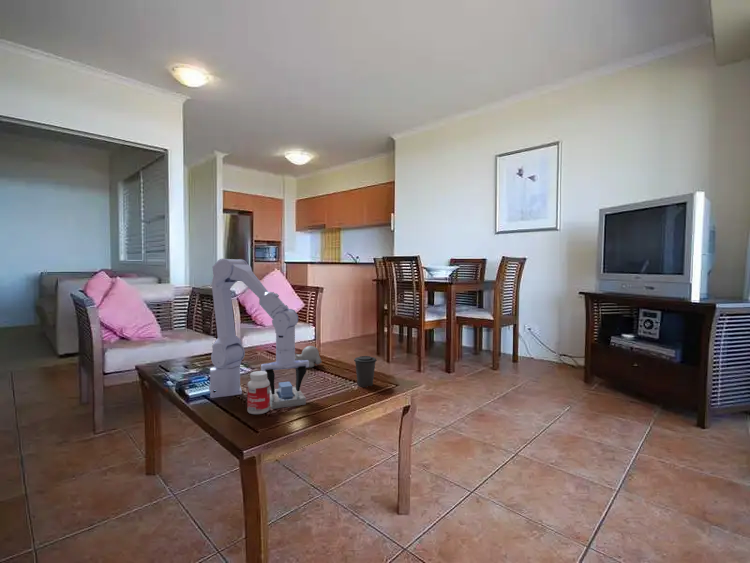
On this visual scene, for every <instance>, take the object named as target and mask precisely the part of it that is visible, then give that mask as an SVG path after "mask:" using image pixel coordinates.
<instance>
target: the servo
mask: <svg viewBox="0 0 750 563" xmlns="http://www.w3.org/2000/svg"><path fill="white" fill-rule="evenodd" d="M292 387H293V385H292V383H291V381H281V382H278V388H277V389H278V392H279V398H284V400H286V399H292V397H293V393H292Z"/></svg>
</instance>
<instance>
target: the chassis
mask: <svg viewBox="0 0 750 563" xmlns="http://www.w3.org/2000/svg"><path fill="white" fill-rule="evenodd" d="M274 389H275V394H272V393H271V389H270V408H271V410H276V409H282V408H289V407H296V406H301V405H302V406H305V405H307V402H306V401H307V398H306V396H305V395H304V393H303V392H302V391H301V390H300V391H297V390H296V386H292V393H293V397H292V399H286V400H284V398H279V392H278V389H279V388H274Z"/></svg>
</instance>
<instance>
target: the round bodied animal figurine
mask: <svg viewBox="0 0 750 563" xmlns="http://www.w3.org/2000/svg"><path fill="white" fill-rule="evenodd" d="M319 353H320V352H319V350H318V348H317V347H316V346H313V345H307V346H305V347H304V348H303V349H302V351H301V354H300V353H299V354H298V353H295V360H308V361H309V367H308V368H310V369H311V368H314V367H315V366H316V365H317V366H318V365H319V364H322V359H321V357H320V354H319Z"/></svg>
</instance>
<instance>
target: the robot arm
mask: <svg viewBox="0 0 750 563" xmlns="http://www.w3.org/2000/svg"><path fill="white" fill-rule="evenodd" d="M212 274H213V275H212V276H213V277H212V280H211V291H212V299H213V301H212V302H213V308H214V316H215V325H216V334H217V338H216V340H215V341H214V342H213V343H212V346H211V347H212V348H211V349H212V351H211V356H210V360H211V363H212V364H213V366H214V367H213V366H212V367H210V368H209V373H210V374H209V377H210V378H209V380H210V381H209V383H210V384H209V385H208V390H209V394H210V395H209V396H210V398H211V399H215V398H223V397H232V396H240V395H242V394H243V390H242V387H241V364H242V360H244V358H245V354H246V351H245V348H244V347H243V344H242V340H241V338H240V337H238V336H237V335H236V328H235V319H234V310H233V302H232V292H231V288H232V287H233V286H234V285H235V284H236V283H237V282H242V283H243V284H244V285H245V286H246V287H247V288H248V289H249V290H250V291H251V292H252V293H253V294H254V295H256V297H257V298H258V299H259V302H258V304H259V306H261V308H262V309H263V310H264V311H265V312H266V314H267V315H268V316H269V317H270V318H271V319H272V320H271V323H272V326H273V327H274V329H275V361H274V362H266V363H262V364H260V371H265V372H267V378H266V379H267V380H269V382H270V390H271V393H272V394H275V389H276V388H275V378H276V377H275V376H276V374H275V371H279V370H289V369H295V378H296V380H295V387H296V390H297V391H301V386H302V382H303V378H304V377H305V375H306V373H307V368H309V361H308V360H295V355H296V339H295V338H296V330H295V329H296V325H297V324H298V322H299V315H298V313H297V311H296V310H295V309H293V308H289V306H288V305H286V304H285V303H284V302H283V301H282V300H281V299H280V297H279V296H280V295H279V294H278V293H275V292H274V291H268V289H267V288H266V287H265V286H264V284H263V283H262V282H261V281H260V279H259V278H258V277H257V275H255V273H254V272H253V269H252V266H251V265H250V264H248V262H247V261H246V260H244V259H242V258H239V259H238V258H237V259H233V258H231V259H230V258H219V259H218V260H216V262H215V263H214V264H213V266H212ZM214 390H216V391H214Z"/></svg>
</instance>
